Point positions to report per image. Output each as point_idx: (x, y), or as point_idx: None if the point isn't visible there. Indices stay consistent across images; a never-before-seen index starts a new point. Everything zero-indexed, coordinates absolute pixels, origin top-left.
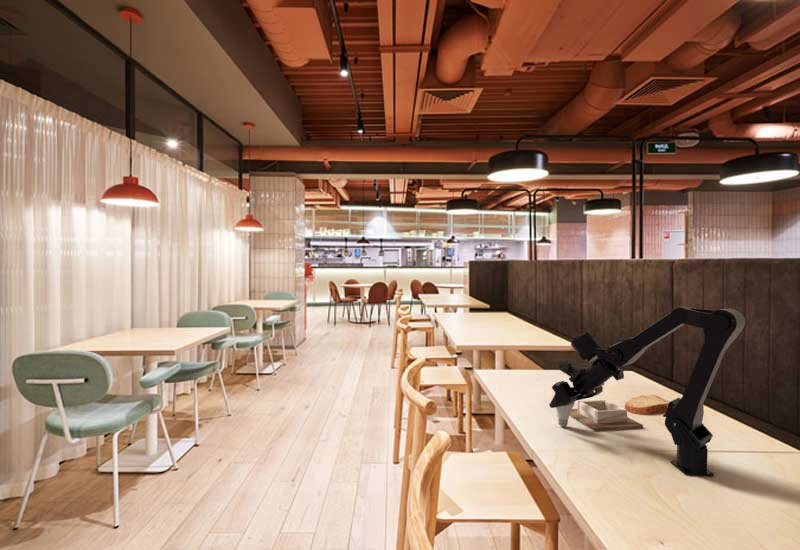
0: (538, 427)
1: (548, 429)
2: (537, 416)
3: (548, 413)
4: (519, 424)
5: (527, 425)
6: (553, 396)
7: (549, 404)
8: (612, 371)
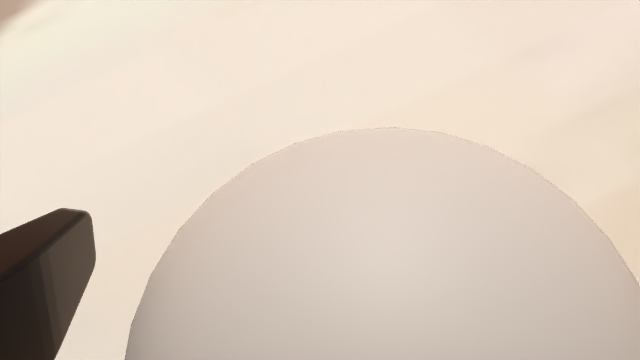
0: (132, 171)
1: (149, 273)
2: (433, 23)
3: (614, 59)
4: (81, 6)
5: (109, 70)
6: (251, 166)
7: (48, 214)
8: None
